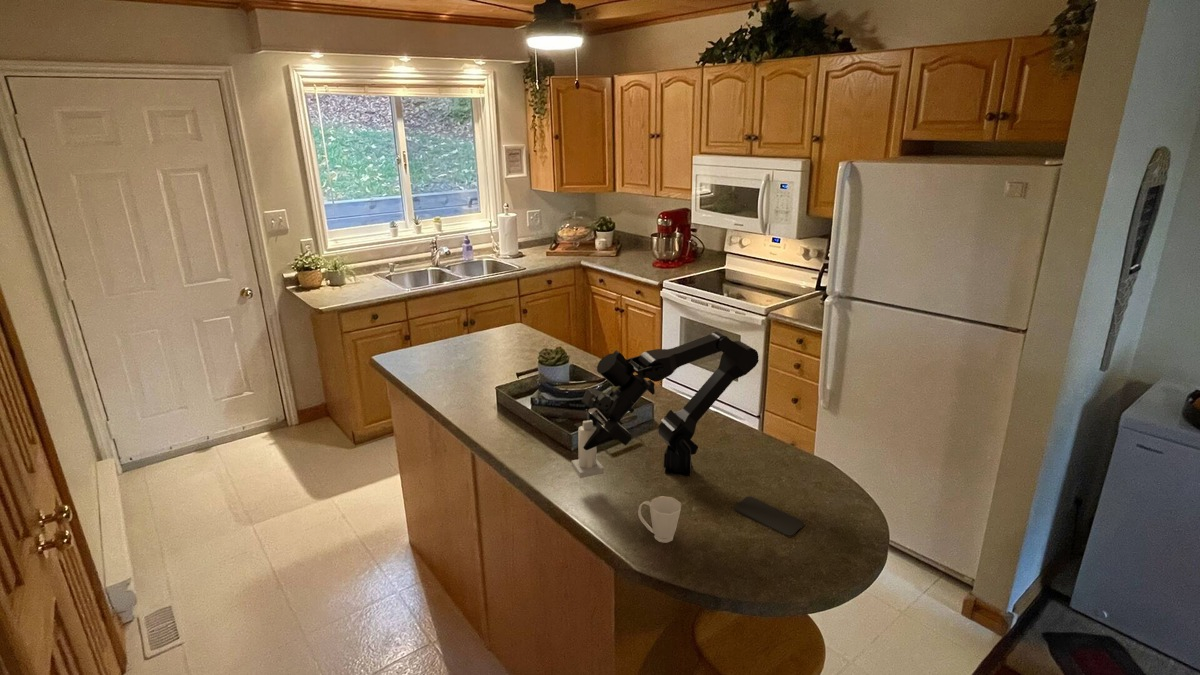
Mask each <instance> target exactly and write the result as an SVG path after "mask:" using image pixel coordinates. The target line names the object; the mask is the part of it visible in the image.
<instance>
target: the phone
mask: <svg viewBox="0 0 1200 675" xmlns="http://www.w3.org/2000/svg"><path fill="white" fill-rule="evenodd" d="M733 510H734V512H737V513H738V514H740V515H742V516H745V517H746V518H748V519H750V520H752V521H754V522H756V523H758V522H759V523H758V524H760V525H762V524H763V525H762V526H764V525H765V526H764V527H766V526H767V527H766V528H768V527H770V528H772V529H774V530H776V531H778V532H780V533H781V534H780V533H779V534H780V535H782V534H784V535H785V537H787V536H792V537H794V536H795V535H796V534H797V533H798V532H799V531H800V530H801V529H800V528H801V527H803V526H804V527H805V525H804V523H805V521H803V520H801V519H800V518H797V517H796V516H793V515H792V514H790V513H787V512H785V511H783V510H780V509H779V508H777V507H775V506H772V505H770V504H769V503H766V502H764V501H762V500H759V499H758V498H755V497H754V496H750V495H749V496H745V498H743V499H742V500H741V501H739V502H737V503H736V504H735V505H734V506H733ZM804 527H803V528H804ZM770 528H769V529H770ZM772 529H771V530H772ZM799 529H800V530H799ZM774 530H773V531H774ZM798 530H799V531H798ZM776 531H775V532H776ZM797 531H798V532H797ZM778 532H777V533H778ZM796 532H797V533H796ZM795 533H796V534H795ZM794 534H795V535H794ZM784 535H783V536H784ZM793 535H794V536H793Z"/></svg>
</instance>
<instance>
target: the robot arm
mask: <svg viewBox="0 0 1200 675" xmlns="http://www.w3.org/2000/svg"><path fill="white" fill-rule="evenodd" d="M721 352H722V354H721V356H720V361H719V365H718V367H717V368H716V370H715V371H713V373H711V375H710V377H709V378H708V379H707V380H706V381H705V382H704V383H703V385H701V387H700V388H699V389H698V391H697V392H696V393H695V394H694V395H693V396H692V397H691V398H690V400H689V401H688V402H687V403H686V404H685V405H684V406H683V408H681V409H680V410H677V411H674V410H673V409H670V410H668V412H667V413H666V415H665V416H664V417H663V418H661V419H660V424H659V425H658V427H657V428H658V431H657V433H658V436H659V437H660V438H661V439H662V440H663V442H664V443H666V445H667V447H666V448H665V449H664V454H663V468H664V473H665V474H666V475H667V474H668V475H675V476H683V477H690V476H691V473H692V467H693V466H692V465H693V463H692V457H693V455H695V454H697V452H698V449H699V446H698V444H696V443H695V442H694V441H693V440H692V439H693V436H694V435H695V432H696V431H695V430H696V427H697V425H698V424H697V423H698V422H699V421H700V419H701V418H702V417H703V416H704V415H705V414H706V412H707V411H708V410H709V409H710V408H711V407H712V406H713V405H714V403H715V402H716V401H717V400H718V399H719V397H721V395H722V394H723V393H724V392H725V391H726V390H727V389H728V387H729V386H730V385H731V384H732V383H733V382H734V381H735V380H737V379H739V378H741V377H744V376H746V375H748V374H749V373H750V371H752V370H754V369H755V367H756V366H757V364H758V363H759V353H758V351H757V350H756V349H755V348H753V347H752V346H750V345H748V344H746V343H744V342H742V340H741V341H740V340H732V339H730V338H729V337H728V336H727V335H725V334H723V333H721V332H720V331H713V332H711V333H710V334H708V335H705V336H702V337H700V338H697V339H694V340H691V341H688V342H686V343H683V344H681V345H678V346H675V347H673V348H668V349H665V348H656V349H652V350H651V349H650V350H646V351H644V352H642V353H640V355H638V356H634V357H630V358H625V356H624V355H623V354H622V353H621V352H620V351H618V350H617V349H616V350H615V351H613V353H609V354H607V355H605V356H603V357H602V358H601V359H600V361H599V362H598V363H597V366H596V371H597V373H598V374H599V375H601V376H602V377H603V379H605V380H607V382H608V383H609V384H611V385H612V386H613V387H616V388H615V390H613V389H609V390H608V391H607V392H602V391H601V390H597V389H594V388H591V387H587V388H586V390H585V392H584V395H583V397H582V399H581V400H580V401H581V403H582V404H583V405H584V406H585V407H588V408H589V409H587V408H586V409H585V413H586V421H588V420H592V421H593V425H594V426H596V431H595V432H594V433H593V434H592V436H591V437H590V438H589V440H588V441H587V442H586V444H585V446H584V447H583V448H584V449H585V450H589V449H591V448H594V447H596V446H597V447H598V446H600V445H603V444H605V443H608V442H611V441H613V440H614V441H618V442H620V443H621V444H623V445H624V446H625V447H627V445H629V443H630V442H631V441H632V434H631V433H630V432H629V430H627V428H625V427H624V426H623V425H622V424H624V422H623V421H622V419H623V418H624V417H625V416H626V415H627V414H628V412H630V413H631V414H632V413H634V411H635V409H634V406H635V404H637V402H639V400H640V399H641V398H642V397H643V395H644V394H645V393H646V392H647V391H648V392H649V393H650V394H651V395H655V394H656V393H655V392H656V390H655V382H657V383H658V382H660V381H662V380H664V379H666V378H667V377H670V376H671V375H672V374H673V373H675V371H676V370H677V369H678V368H680V367H682V366H685V365H688V364H690V363H693V362H695V361H698V360H702V359H704V358H706V357H709V356H712V355H715V354H717V353H721ZM634 373H636V374H634ZM647 379H648V380H647Z"/></svg>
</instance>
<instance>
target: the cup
mask: <svg viewBox="0 0 1200 675" xmlns="http://www.w3.org/2000/svg"><path fill="white" fill-rule="evenodd" d="M643 505H646V506H649V511H650V520H651V526H652V527H651V526H650V525H649V524H648V522H647V521H646V520H645V518H644V517H643V515H642V507H643ZM681 509H682V502H680V501H679V500H677V499H676V498H675V497H673V496H664V495H660V496H656V497H655V498H652V499H650V501H649V500H644V501H643V502H641V504H639V507H638V509H637V513H638V514H637V515H638V518H639V520H640V522H641V523H642V524H643V526H645V527H646V529H647V530H648V531H650V532H651V533H652V534H654V536H653V538H654V539H655V540H656V541H658V542H659V543H664V544H665V543H666V544H667V543H671V542H673V540H674V535H675V533H676V531H677V527H678V523H679V518H680V515H681V514H680V513H681V511H682V510H681Z"/></svg>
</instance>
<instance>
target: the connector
mask: <svg viewBox="0 0 1200 675" xmlns="http://www.w3.org/2000/svg"><path fill="white" fill-rule="evenodd" d="M577 431H578V440H577V441H578V452H577V453H578V454H577V455H578V456H577V457H578V459H574V460H570V461H571V463H570V464H571V467H572V469H573V470H574V472H575V473H576V475H577V476H578V477H579V479H583V478H588V477H589V478H590V477H593V476H597V475H598V476H599V475H603V474H604V473H605V472H604V470H605V468H604V466H603V465H602V464H601V463H600V462H599V460H598V459H597V453H598V452H597V448H598V446H596V447H594V448H591V449H589V450H585V449H584V448H583V447H584V446H585V444H586V442H587V441H588V440H589V438H590V437H591V436H592V434H593V433H594V432H595V431H596V426H594V425H593V421H592V420H588V421H587V420H583V421H582V425H581V426H579V427H578V430H577Z"/></svg>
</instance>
